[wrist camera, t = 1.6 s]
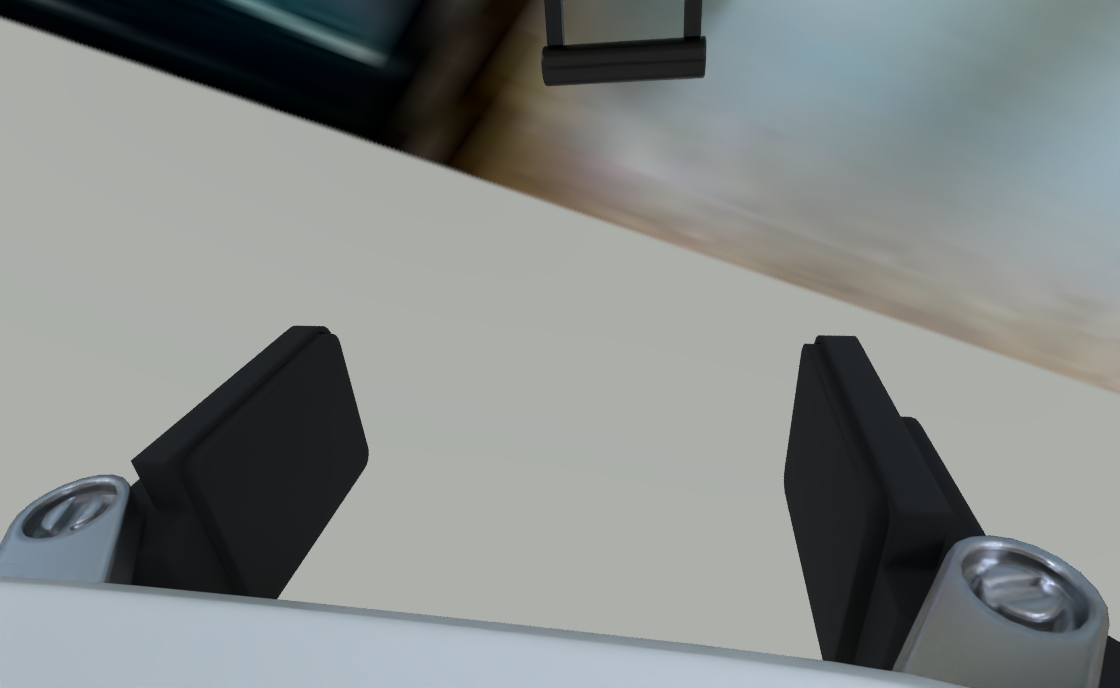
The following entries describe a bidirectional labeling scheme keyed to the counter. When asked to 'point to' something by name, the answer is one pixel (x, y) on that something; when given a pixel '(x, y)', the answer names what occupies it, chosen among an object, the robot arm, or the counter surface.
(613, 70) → the drawer
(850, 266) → the counter surface
